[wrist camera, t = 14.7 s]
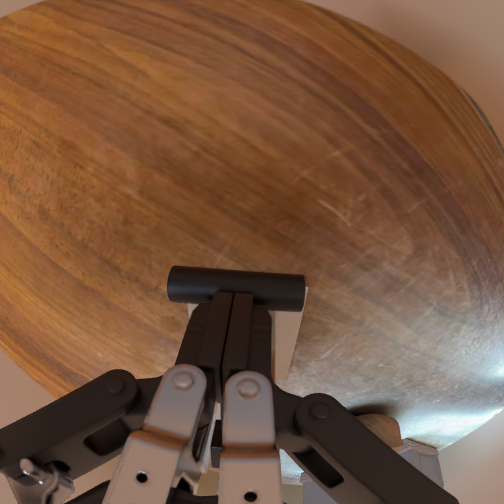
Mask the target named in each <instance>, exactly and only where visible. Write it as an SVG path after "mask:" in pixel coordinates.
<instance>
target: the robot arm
mask: <svg viewBox="0 0 504 504" xmlns="http://www.w3.org/2000/svg"><path fill="white" fill-rule="evenodd" d="M253 298H254V294H248V293H235V295H234V292H222V291H215V292H214V296H213V299H212V303H211V304H210V303H200V304H199V305H198V306H197V307H196V308H195V309H194V310H193V311H192V314H191V317H190V320H189V323H188V326H187V329H186V332H185V335H184V338H183V341H182V344H181V347H180V350H179V353H178V357H177V360H176V363H175V365H174V366H173V367H171V368H169V369H168V370H167V371H166V372H165V373H164V375H162V376H160V377H156V378H146V379H135V377H134V376H133V375H132V374H131V373H130V372H128V371H126V370H121V369H115V370H111V371H108V372H106V373H105V374H103V375H101V376H99V377H97V378H96V379H94V380H92V381H90V382H89V383H87V384H85V385H83V386H81V387H80V388H78V389H76V390H74V391H72V392H70V393H69V394H67V395H65V396H63V397H61V398H59V399H58V400H56V401H54V402H52V403H50V404H48V405H46V406H45V407H43V408H41V409H39V410H37V411H35V412H33V413H32V414H29V415H27V416H25V417H23V418H21V419H20V420H18V421H16V422H14V423H12V424H10V425H8V426H6V427H4V428H2V429H0V472H1V473H2V474H4V475H5V476H6V478H7V480H8V483H9V485H10V487H11V489H12V492H13V494H14V496H15V498H16V500H17V502H18V504H63V502H64V501H65V500H66V499H67V498H69V497H70V496H71V494H73V493H74V491H75V487H74V485H73V481H72V480H74V479H76V478H78V477H80V476H82V475H84V474H86V473H88V472H90V471H92V470H93V469H95V468H97V467H99V466H101V465H102V464H104V463H106V462H108V461H109V460H111V459H113V458H114V457H116V456H118V455H120V454H121V456H120V458H119V461H118V463H117V466H116V469H115V471H114V473H113V476H112V479H111V480H108V481H105V482H103V483H101V484H99V485H97V486H95V487H94V488H92V489H90V490H88V491H87V492H85V493H83V494H81V495H79V496H78V497H76V498H74V499H72V500H70V501H68V502H66V503H64V504H287V503H284V502H283V496H282V495H283V494H282V478H281V463H280V455H279V451H278V449H277V448H280V449H283V450H285V452H286V453H287V454H288V455H289V456H290V457H291V458H292V459H293V461H294V462H295V463H296V464H297V465H298V466H299V467H300V468H301V469H302V470H303V471H304V472H305V473H306V474H307V475H308V476H309V477H310V478H311V479H312V480H313V481H314V482H315V483H316V484H317V485H318V486H319V487H320V488H321V489H322V490H324V491H325V492H326V493H327V494H328V495H329V496H330V497H331V498H332V499H333V500H334V501H335V502H337V503H338V504H459V502H458V500H457V499H456V498H455V497H454V496H452V495H451V494H450V493H448V492H447V491H445V490H444V489H443V488H441V487H440V486H439V485H437V484H436V483H435V482H433V481H432V480H431V479H429V478H428V477H427V476H426V475H424V474H423V473H422V472H420V471H419V470H418V469H417V468H415V467H414V466H413V465H412V464H410V463H409V462H408V461H407V460H405V459H404V458H403V457H402V456H400V455H399V454H398V453H397V452H396V451H394V450H393V449H392V448H391V447H390V446H388V445H387V444H386V443H385V442H384V441H382V440H381V439H380V438H379V437H378V436H377V435H375V434H374V433H373V432H372V431H371V430H370V429H368V428H367V427H366V426H365V425H364V424H363V423H362V422H360V421H359V420H358V419H357V418H356V417H355V416H354V415H352V414H351V413H350V412H349V411H348V410H347V409H346V408H345V407H344V406H342V405H341V404H340V403H339V402H338V401H337V400H336V399H335V398H333V397H332V396H330V395H327V394H323V393H314V394H310V395H307V396H305V397H304V398H303V397H299V396H296V395H293V394H290V393H287V392H285V391H283V390H281V389H280V388H279V387H278V386H277V385H276V384H275V383H274V381H273V379H272V376H271V341H272V340H271V338H272V317H271V316H270V314H269V312H268V310H267V308H258V307H253ZM223 396H224V414H223V434H222V448H221V453H220V469H219V495H216V496H196V492H197V489H198V485H199V481H200V476H201V464H202V460H203V456H204V452H205V448H206V444H207V440H208V437H209V433H210V429H211V425H212V421H213V414H214V408H215V402H217V403H222V402H223Z"/></svg>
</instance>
